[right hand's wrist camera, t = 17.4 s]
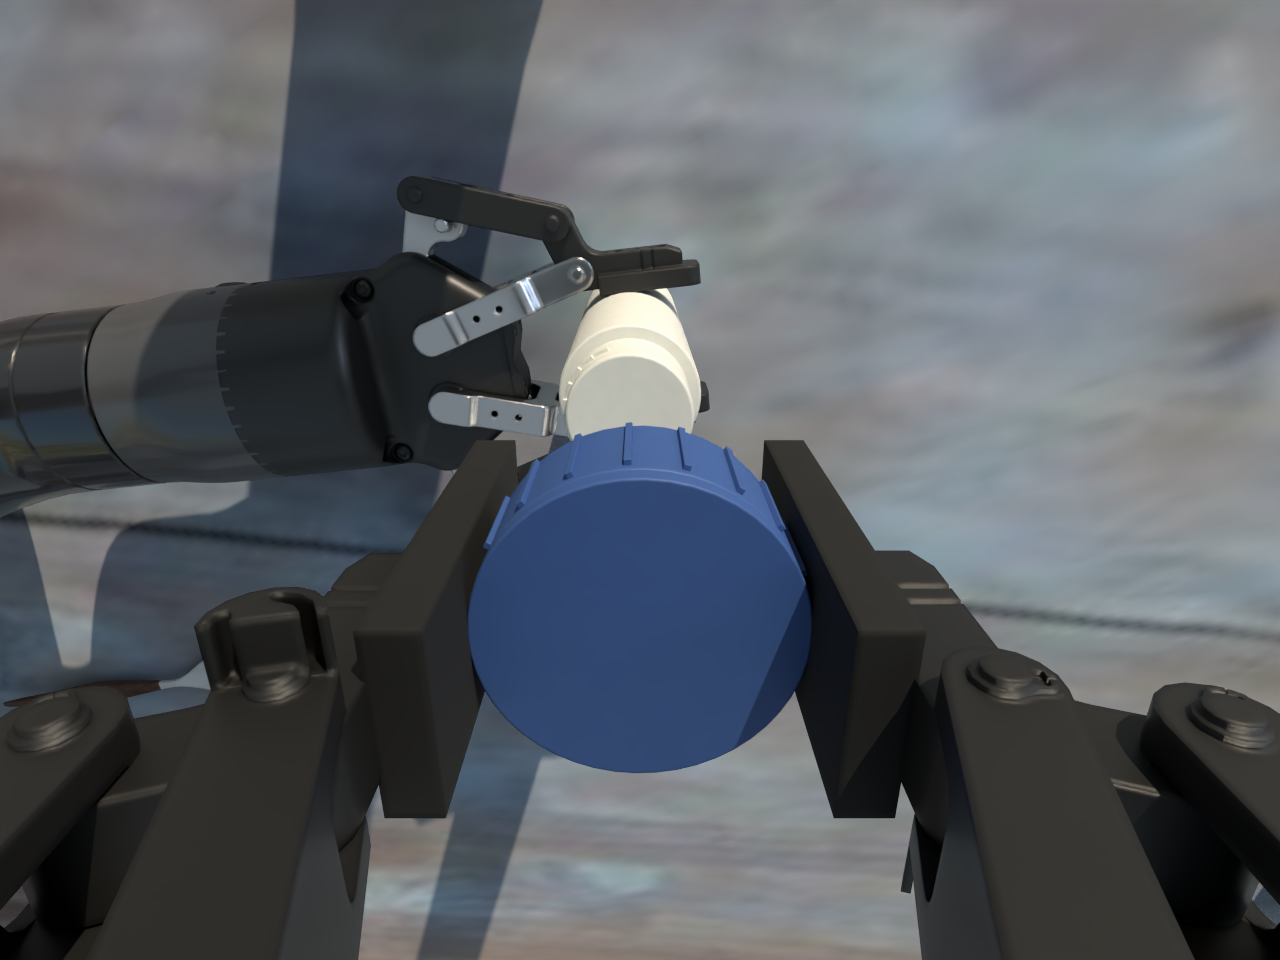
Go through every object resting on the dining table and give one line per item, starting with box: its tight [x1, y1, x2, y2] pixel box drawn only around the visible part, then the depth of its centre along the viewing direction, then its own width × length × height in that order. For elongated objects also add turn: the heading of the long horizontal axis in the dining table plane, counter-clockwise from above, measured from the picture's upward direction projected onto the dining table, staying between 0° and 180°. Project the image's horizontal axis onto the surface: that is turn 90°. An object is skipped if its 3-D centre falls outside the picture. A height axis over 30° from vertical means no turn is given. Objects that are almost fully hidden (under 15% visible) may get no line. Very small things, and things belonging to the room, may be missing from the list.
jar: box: [559, 288, 701, 441], centre depth 27 cm, size 4×4×16 cm
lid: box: [467, 422, 812, 773], centre depth 11 cm, size 5×5×2 cm
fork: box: [3, 661, 211, 706], centre depth 40 cm, size 3×16×2 cm, turn 98°
